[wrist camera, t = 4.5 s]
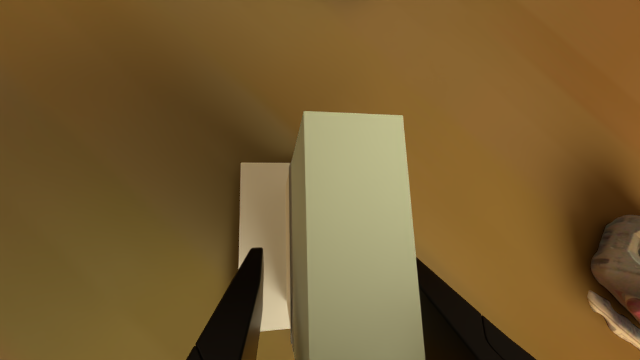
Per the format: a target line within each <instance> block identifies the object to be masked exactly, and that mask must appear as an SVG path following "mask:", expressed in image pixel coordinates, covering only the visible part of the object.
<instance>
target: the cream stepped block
mask: <svg viewBox="0 0 640 360" xmlns="http://www.w3.org/2000/svg"><path fill="white" fill-rule="evenodd" d="M256 247H262V248H263V255H264V282H263V312H262V320H261V327H260V331H269V330H279V329H289V328H290V329H291V344H292V272H291V190H290V163H241V179H240V225H239V268H240V266H241V264H242V263H243V261H244V259H245V257H246V256H247V254H248V252H249V251H250V249H251V248H256Z"/></svg>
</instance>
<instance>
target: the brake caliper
mask: <svg viewBox="0 0 640 360" xmlns="http://www.w3.org/2000/svg"><path fill="white" fill-rule="evenodd" d="M591 271H592V273H593V275H594V277H595V279H596V280H597V281H598V282H599V283H600V284H601V285H602V286H604V287H605V288H606V289H607V290H608V291H609V292H610V293H611V294H612V295H613V296H614V297H615V298H616V300H618V301H619V302H620V303H621V304H622V305H623V306H624V307H625V308H626V309H627V310H628V311H629V312H630V313H631V314H632V315H633V316H634V318H635V319H636V320H637V321H638V322H639V324H640V216H638V215H625V216H621V217H618V218H616V219H615V220H614V221H613V222H612V223H609V224H607V225H606V227H605V229H604V233H603V235H602V238H601V241H600V244H599V248H598V251H597V253H596V254H595V255H594V256H593V258H592V260H591ZM588 300H589V304H590V307H591V308H592V310H593V311H594V312H597V313H600V314H601V315H602V316H603V317H604V318H605V320H606V322H607V324H608V327H609V328H610V329H611V330H612V331H613V332H614V333H615V334H616V335H618V336H619V337H620V338H622V339H624V340H626V341H627V342H630V343H631V344H633V345H634V346H636V347H637V348H638V349H639V350H640V329H639V328H637V327H636V326H635V325H634V324H632V323H631V322H630V320H629V319H628V318H626V317H625V316H623V315H621V314H618V313H617V312H615V311H614V309H613V308H612V307H611V303H610V302H609V301H608V300H607V299H605V298H603V297H601V296H599V295H597V294H596V293H595V292H593V291H591V290H589V292H588Z"/></svg>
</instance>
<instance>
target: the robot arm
mask: <svg viewBox="0 0 640 360" xmlns="http://www.w3.org/2000/svg"><path fill="white" fill-rule="evenodd" d="M416 264H417V275H418V285H419V296H420V307H421V318H422V329H423V339H424V350H425V360H536V359H535V358H534V357H532V356H531V355H530V354H529V353H527V352H526V351H525V350H524V349H522V348H521V347H520V346H519V345H517V344H516V343H515V342H513V341H512V340H511V339H510V338H509V337H507V336H506V335H505V334H504V333H503V332H501V331H500V330H499V329H498V328H497V327H496V326H494V325H493V324H492V323H491V322H490V321H489V320H487V319H486V318H485V317H484V316H481V314H480V313H479V312H478V311H477V310H476V309H475V308H474V307H473V306H471V305H470V304H469V303H468V302H467V301H466V300H465V299H463V298H462V297H461V296H460V295H459V294H458V293H457V292H455V291H454V290H453V289H452V288H451V287H450V286H449V285H447V284H446V283H445V282H444V281H443V280H442V279H441V278H439V277H438V276H437V275H436V274H435V273H434V272H433V271H431V270H430V269H429V268H428V267H427V266H426V265H425V264H423V263H422V262H421V261H420V260H419V259H418V258H417V257H416ZM263 282H264V255H263V248H262V247H256V248H251V249H250V251H249V252H248V254H247V256H246V257H245V259H244V261H243V263H242V264H241V266H240V268H239V270H238V271H237V273H236V275H235V276H234V278H233V280H232V282H231V283H230V285H229V287H228V288H227V290H226V292H225V294H224V295H223V297H222V299H221V301H220V302H219V304H218V306H217V307H216V309H215V311H214V313H213V314H212V316H211V318H210V320H209V321H208V323H207V325H206V326H205V328H204V330H203V332H202V333H201V335H200V337H199V339H198V340H197V342H196V346H194V347H193V349H192V350H191V352H190V354H189V356H188V357H187V359H186V360H256V355H257V348H258V341H259V334H260V327H261V320H262V312H263Z"/></svg>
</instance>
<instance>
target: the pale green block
mask: <svg viewBox="0 0 640 360" xmlns="http://www.w3.org/2000/svg"><path fill="white" fill-rule="evenodd" d="M290 190H291V272H292V347H293V352H294V357H295V360H425V350H424V339H423V329H422V318H421V307H420V296H419V285H418V275H417V264H416V253H415V242H414V232H413V221H412V210H411V199H410V189H409V178H408V167H407V156H406V146H405V135H404V124H403V115H380V114H358V113H335V112H312V111H304V112H303V117H302V121H301V125H300V129H299V133H298V137H297V141H296V145H295V149H294V153H293V157H292V161H291V163H290Z"/></svg>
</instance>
